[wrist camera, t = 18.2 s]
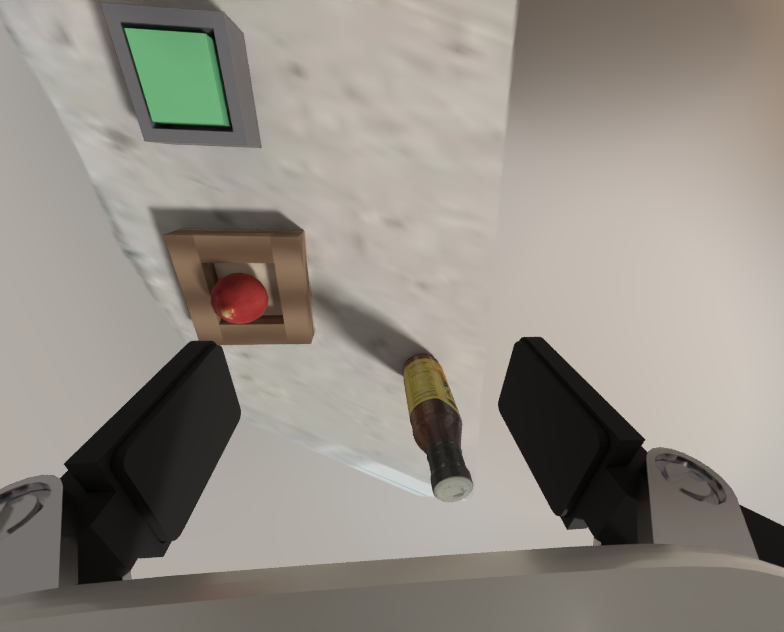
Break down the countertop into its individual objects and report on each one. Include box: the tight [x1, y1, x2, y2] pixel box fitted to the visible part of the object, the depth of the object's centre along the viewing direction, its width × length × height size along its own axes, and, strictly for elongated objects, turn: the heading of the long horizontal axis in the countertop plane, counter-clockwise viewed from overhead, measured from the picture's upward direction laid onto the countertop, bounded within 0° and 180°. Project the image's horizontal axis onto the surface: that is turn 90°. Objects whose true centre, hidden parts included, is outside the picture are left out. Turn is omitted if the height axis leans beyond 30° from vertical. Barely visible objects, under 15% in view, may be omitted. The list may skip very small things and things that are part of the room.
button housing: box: [100, 2, 262, 148], centre depth 26 cm, size 9×9×4 cm
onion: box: [210, 273, 269, 324], centre depth 32 cm, size 6×6×8 cm
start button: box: [125, 28, 233, 128], centre depth 25 cm, size 6×6×3 cm
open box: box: [163, 229, 315, 345], centre depth 35 cm, size 14×14×4 cm
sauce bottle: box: [403, 355, 473, 502], centre depth 36 cm, size 6×6×20 cm
